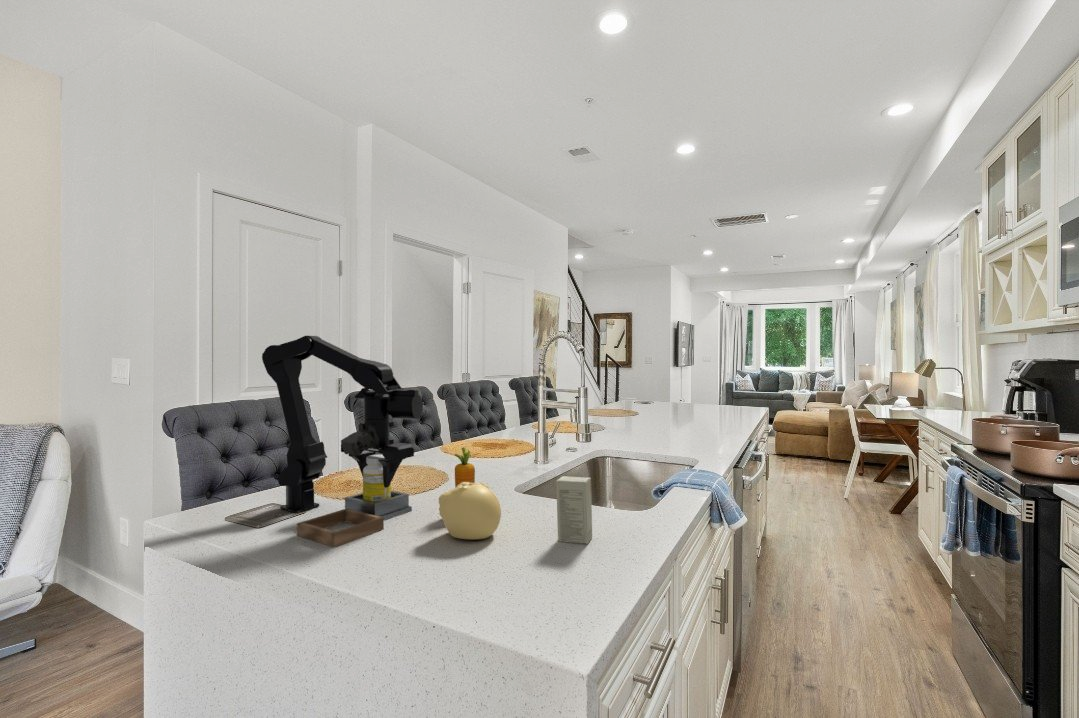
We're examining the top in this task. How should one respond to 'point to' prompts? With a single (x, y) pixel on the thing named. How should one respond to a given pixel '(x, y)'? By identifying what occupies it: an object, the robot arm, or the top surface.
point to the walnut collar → (364, 527)
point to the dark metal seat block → (380, 505)
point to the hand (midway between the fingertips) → (376, 485)
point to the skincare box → (574, 509)
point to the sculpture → (470, 511)
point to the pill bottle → (374, 480)
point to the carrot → (464, 469)
